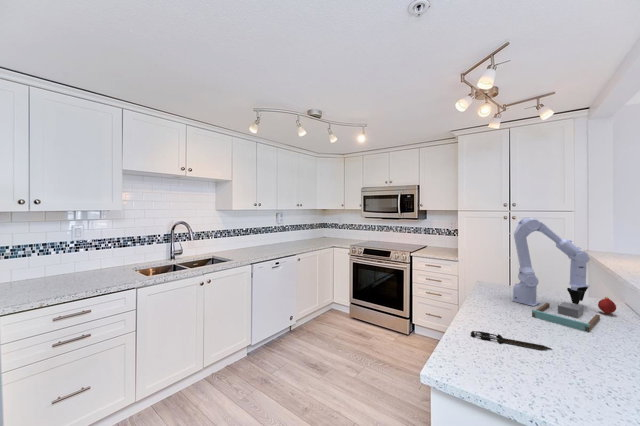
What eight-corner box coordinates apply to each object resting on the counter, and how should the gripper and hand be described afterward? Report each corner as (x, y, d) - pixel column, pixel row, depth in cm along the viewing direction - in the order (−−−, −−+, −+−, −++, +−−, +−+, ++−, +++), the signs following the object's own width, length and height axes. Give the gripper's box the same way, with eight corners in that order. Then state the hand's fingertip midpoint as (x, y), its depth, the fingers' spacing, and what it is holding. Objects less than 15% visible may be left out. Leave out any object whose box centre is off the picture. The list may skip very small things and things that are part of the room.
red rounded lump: (607, 311, 129) (608, 295, 129) (619, 316, 123) (620, 299, 123) (594, 311, 130) (594, 294, 129) (605, 316, 124) (606, 299, 123)
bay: (531, 316, 124) (532, 310, 124) (546, 306, 136) (546, 300, 136) (588, 332, 109) (589, 324, 109) (599, 319, 120) (600, 312, 120)
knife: (552, 349, 97) (552, 345, 97) (555, 358, 92) (555, 354, 92) (471, 331, 111) (471, 328, 111) (470, 338, 106) (470, 334, 106)
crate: (557, 313, 128) (558, 305, 128) (563, 310, 132) (563, 301, 132) (577, 319, 122) (578, 310, 122) (583, 314, 126) (583, 306, 126)
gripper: (585, 278, 126) (584, 307, 126) (592, 274, 134) (592, 301, 135) (565, 275, 132) (564, 303, 132) (573, 271, 140) (573, 297, 141)
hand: (577, 302), depth 134 cm, fingers open, 7 cm apart
